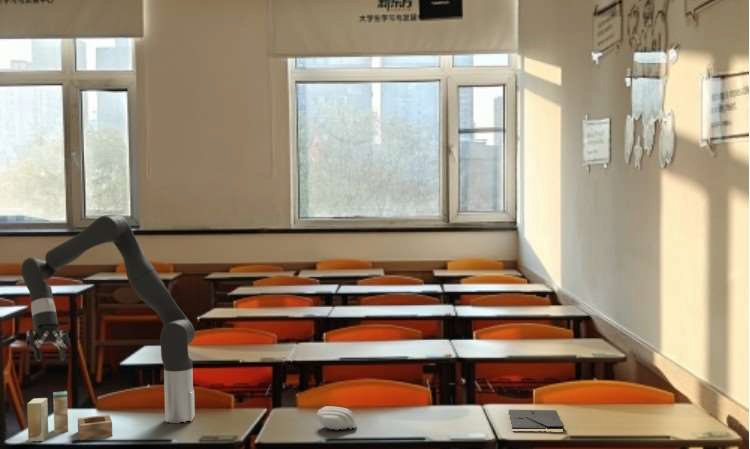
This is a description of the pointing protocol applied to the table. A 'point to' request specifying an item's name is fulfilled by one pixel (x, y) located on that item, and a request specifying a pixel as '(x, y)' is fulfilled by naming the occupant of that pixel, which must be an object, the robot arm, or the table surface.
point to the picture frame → (535, 419)
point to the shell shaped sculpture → (336, 418)
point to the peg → (60, 412)
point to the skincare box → (37, 419)
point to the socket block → (94, 427)
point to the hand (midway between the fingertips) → (51, 360)
